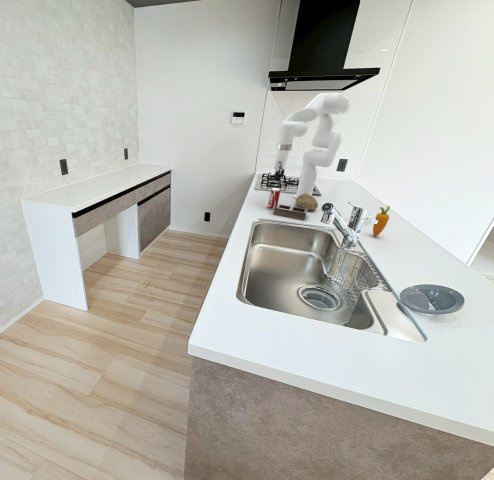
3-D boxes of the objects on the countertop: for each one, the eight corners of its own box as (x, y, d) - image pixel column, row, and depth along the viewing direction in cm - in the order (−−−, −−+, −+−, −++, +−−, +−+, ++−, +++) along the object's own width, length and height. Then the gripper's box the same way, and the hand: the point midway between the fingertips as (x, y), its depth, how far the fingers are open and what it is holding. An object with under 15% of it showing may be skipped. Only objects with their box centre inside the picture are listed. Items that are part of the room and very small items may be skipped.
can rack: (276, 210, 152) (278, 203, 151) (306, 215, 145) (308, 208, 143) (273, 214, 145) (274, 207, 144) (304, 220, 138) (306, 213, 136)
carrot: (371, 238, 120) (383, 207, 113) (366, 233, 124) (378, 203, 117) (383, 239, 119) (396, 208, 112) (378, 235, 123) (390, 204, 116)
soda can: (277, 210, 152) (281, 190, 147) (268, 209, 153) (271, 189, 147) (276, 207, 156) (279, 188, 151) (267, 206, 157) (270, 187, 152)
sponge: (296, 202, 170) (291, 204, 153) (301, 191, 167) (297, 191, 150) (316, 210, 164) (313, 213, 148) (322, 198, 161) (320, 200, 145)
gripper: (280, 145, 148) (275, 175, 156) (273, 148, 135) (268, 181, 142) (294, 146, 144) (288, 176, 152) (288, 149, 131) (282, 183, 139)
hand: (278, 178), depth 147 cm, fingers open, 9 cm apart
